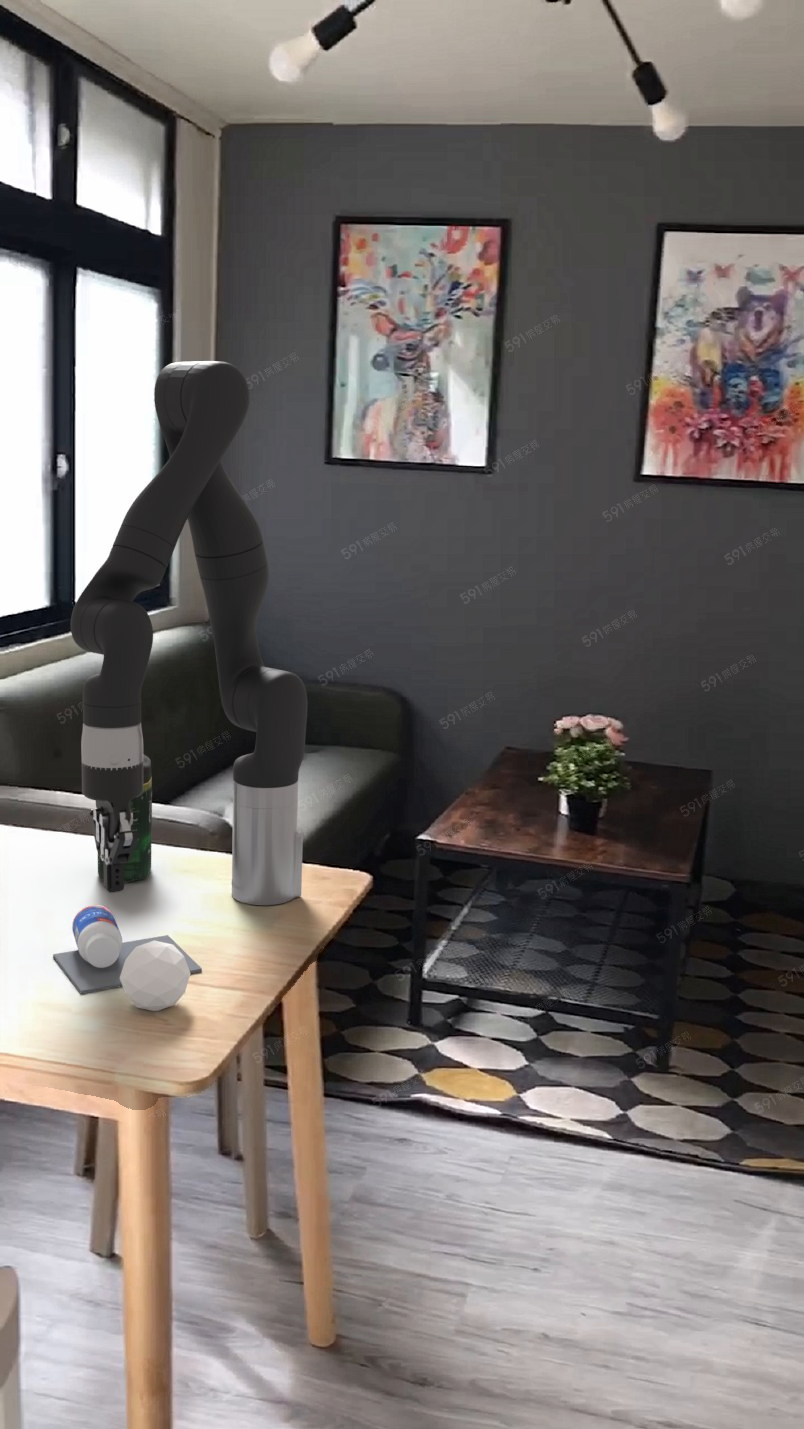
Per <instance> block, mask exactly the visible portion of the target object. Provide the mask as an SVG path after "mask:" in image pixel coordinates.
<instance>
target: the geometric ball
mask: <svg viewBox="0 0 804 1429" xmlns="http://www.w3.org/2000/svg"><path fill="white" fill-rule="evenodd" d="M190 976H191V974H190V971H189V968H188V965H187V963H186V960H185V957H184V956H183V955H182V954H181V953H180V951H179V950H178V949H177V948H176V947H175V946H174V945H173V944H168V943H164V942H159V941H155V940H154V941H151V942H148V943H145V944H142V945H140V946H137V947H135V948H134V950H133V951H132V952H131V953H130V955H129V956H128V957H127V958H126V960H125V963H124V966H123V969H122V972H121V975H120V981H121V983H122V985H123V986H122V988H123V990H124V992H125V994H126V997H128V999H129V1000H130V1001H131V1002H132V1003H133V1005H134V1006H135V1007H136V1008H138V1009H141V1010H142V1009H143V1010H148V1011H152V1012H158V1011H161V1010H164V1009H166V1008H167V1009H168V1008H169V1007H171V1006H175V1005H176V1004H177V1002H179V1000H180V999H181V998H182V997H183V995H184V994H186V990H187V987H188V984H189V980H190Z"/></svg>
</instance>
